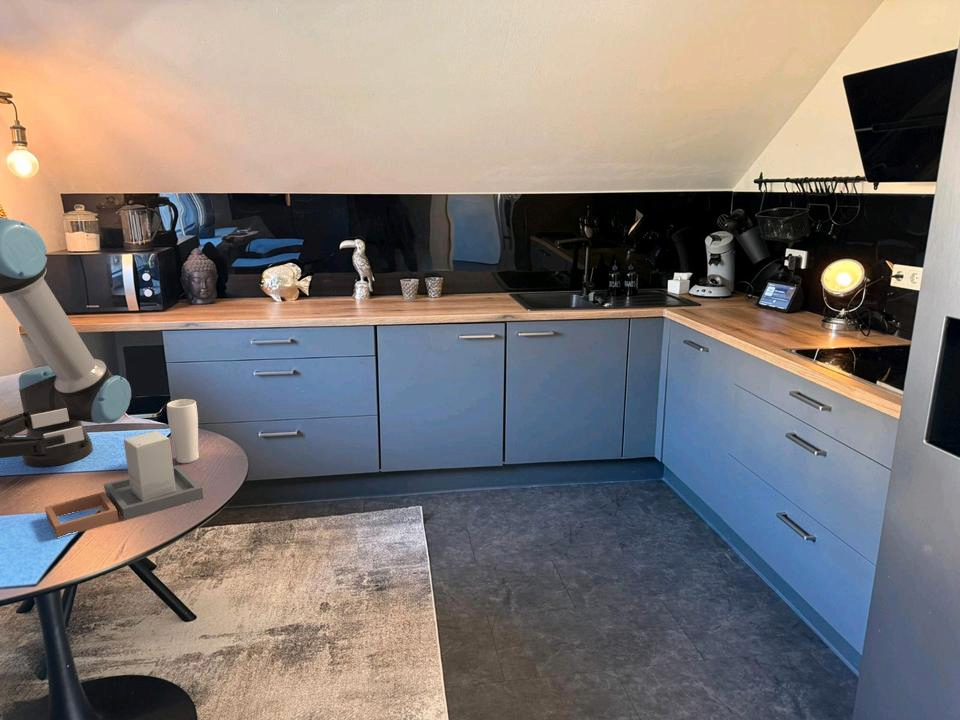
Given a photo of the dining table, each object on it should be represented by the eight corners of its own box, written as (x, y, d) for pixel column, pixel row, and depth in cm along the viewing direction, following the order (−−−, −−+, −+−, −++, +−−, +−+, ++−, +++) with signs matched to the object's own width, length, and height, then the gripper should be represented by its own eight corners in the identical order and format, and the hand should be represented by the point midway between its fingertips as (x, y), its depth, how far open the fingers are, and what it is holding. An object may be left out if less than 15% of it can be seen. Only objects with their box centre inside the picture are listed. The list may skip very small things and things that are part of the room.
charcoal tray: (105, 494, 152) (103, 483, 152) (179, 474, 162) (178, 465, 162) (124, 520, 141) (122, 509, 140) (203, 497, 151) (202, 487, 150)
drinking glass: (191, 466, 167) (185, 408, 163) (167, 464, 168) (160, 406, 165) (207, 455, 174) (201, 399, 170) (183, 453, 175) (177, 398, 171)
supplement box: (177, 491, 151) (170, 438, 148) (142, 502, 146) (134, 447, 143) (164, 481, 156) (157, 429, 153) (129, 491, 151) (122, 438, 148)
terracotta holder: (46, 518, 141) (44, 507, 141) (105, 502, 148) (103, 491, 148) (57, 538, 133) (55, 527, 133) (118, 521, 140) (117, 510, 140)
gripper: (-56, 449, 136) (65, 423, 150) (-44, 493, 118) (92, 459, 132) (-65, 414, 134) (59, 391, 147) (-53, 453, 116) (86, 422, 129)
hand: (75, 423), depth 140 cm, fingers open, 13 cm apart
